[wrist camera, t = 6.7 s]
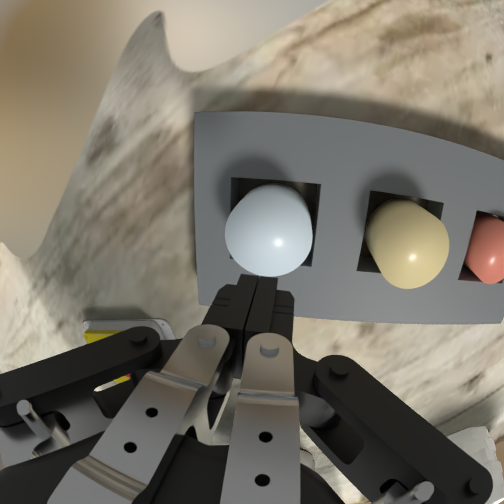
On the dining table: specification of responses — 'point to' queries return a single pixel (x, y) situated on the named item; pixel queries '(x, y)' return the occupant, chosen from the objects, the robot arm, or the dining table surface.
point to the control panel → (347, 211)
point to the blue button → (270, 230)
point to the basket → (482, 456)
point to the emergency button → (111, 327)
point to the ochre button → (407, 243)
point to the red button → (486, 248)
